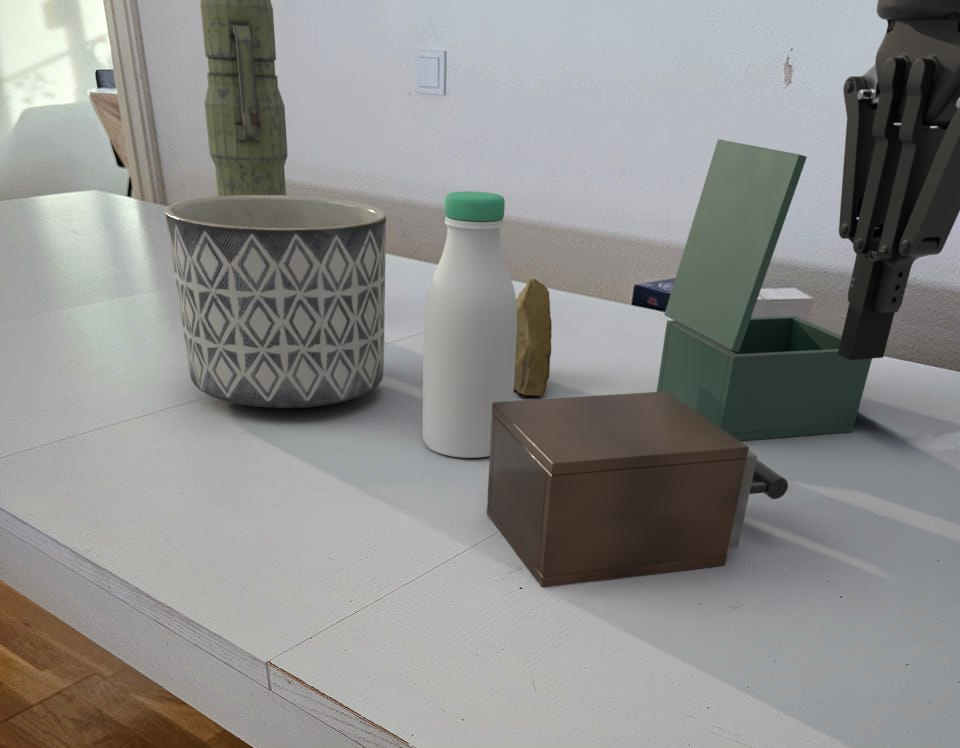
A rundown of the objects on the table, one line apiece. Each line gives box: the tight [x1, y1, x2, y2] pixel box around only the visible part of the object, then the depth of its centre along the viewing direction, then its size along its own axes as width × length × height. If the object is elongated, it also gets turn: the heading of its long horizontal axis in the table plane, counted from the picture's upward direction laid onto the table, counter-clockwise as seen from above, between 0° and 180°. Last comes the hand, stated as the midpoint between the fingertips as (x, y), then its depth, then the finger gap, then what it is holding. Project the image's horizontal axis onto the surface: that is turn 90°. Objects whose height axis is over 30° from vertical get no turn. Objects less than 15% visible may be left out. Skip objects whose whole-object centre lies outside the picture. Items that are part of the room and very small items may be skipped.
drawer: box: [728, 449, 789, 550], centre depth 66 cm, size 17×10×7 cm, turn 108°
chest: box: [656, 315, 873, 442], centre depth 90 cm, size 15×13×8 cm
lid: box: [664, 138, 807, 352], centre depth 82 cm, size 15×13×1 cm
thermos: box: [199, 0, 289, 197], centre depth 108 cm, size 9×12×35 cm
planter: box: [164, 194, 387, 410], centre depth 87 cm, size 19×19×16 cm
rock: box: [514, 278, 553, 397], centre depth 95 cm, size 11×9×10 cm
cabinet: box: [486, 391, 750, 588], centre depth 65 cm, size 14×12×9 cm
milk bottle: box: [422, 190, 517, 459], centre depth 76 cm, size 8×8×20 cm
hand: (860, 355), depth 66 cm, fingers closed
